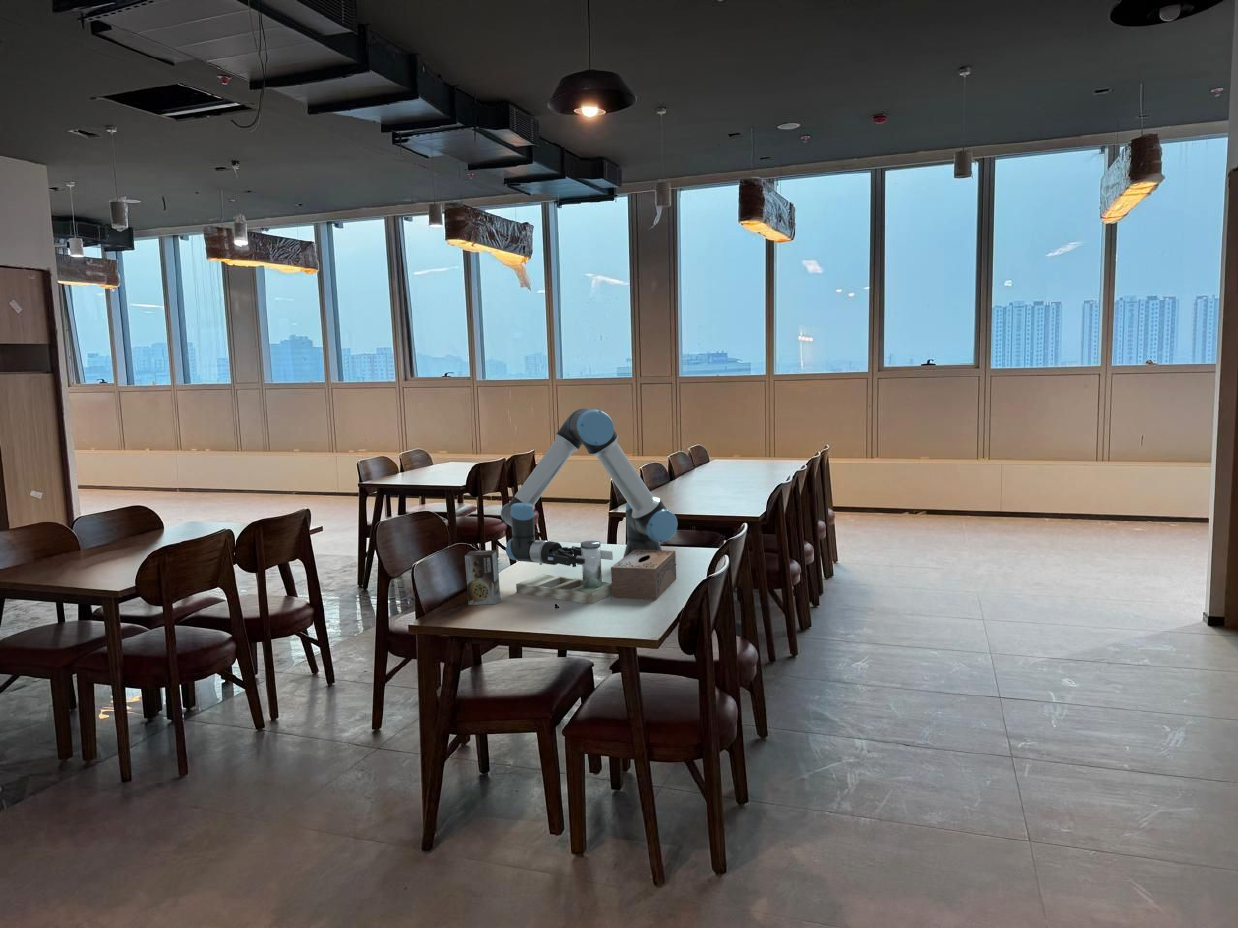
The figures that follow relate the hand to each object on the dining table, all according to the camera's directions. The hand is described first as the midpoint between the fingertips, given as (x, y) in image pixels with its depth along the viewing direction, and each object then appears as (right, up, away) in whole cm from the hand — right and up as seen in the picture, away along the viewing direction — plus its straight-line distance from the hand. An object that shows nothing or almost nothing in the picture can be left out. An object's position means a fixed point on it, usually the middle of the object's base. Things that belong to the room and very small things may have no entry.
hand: (603, 558), depth 256 cm
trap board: (-12, -12, +10) cm, 20 cm away
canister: (-3, -9, +4) cm, 10 cm away
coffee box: (-38, -14, +3) cm, 40 cm away
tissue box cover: (+14, -11, +12) cm, 21 cm away
